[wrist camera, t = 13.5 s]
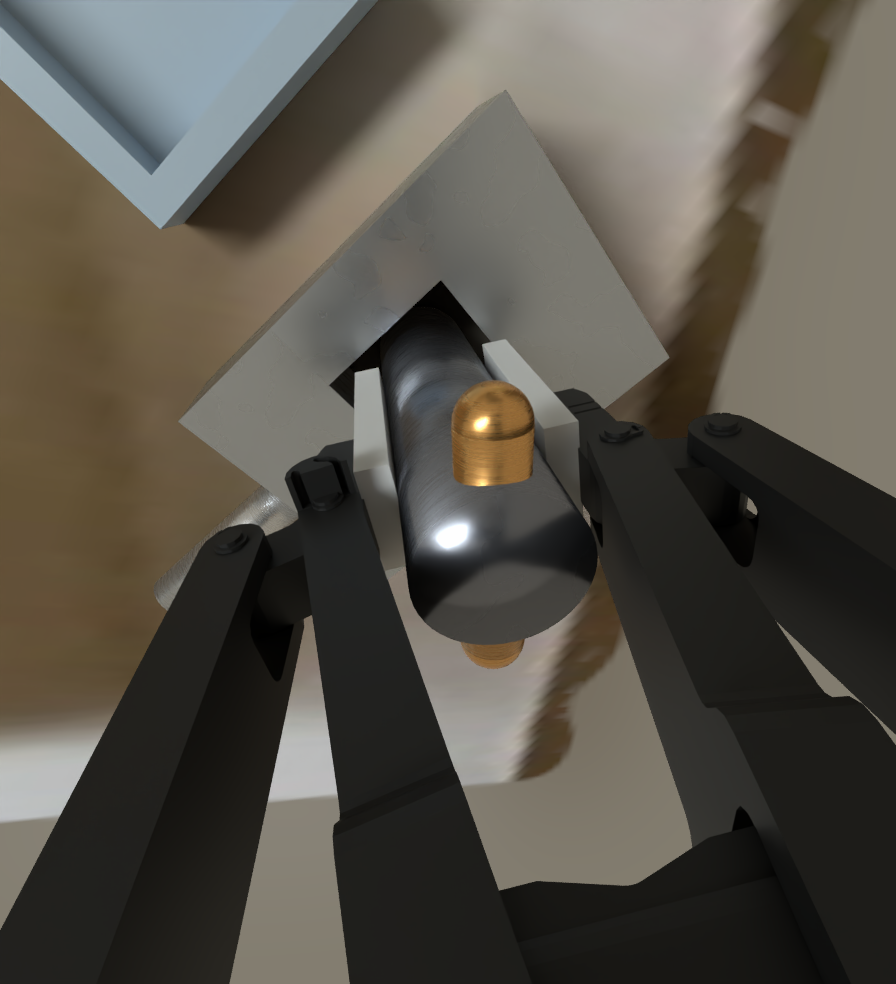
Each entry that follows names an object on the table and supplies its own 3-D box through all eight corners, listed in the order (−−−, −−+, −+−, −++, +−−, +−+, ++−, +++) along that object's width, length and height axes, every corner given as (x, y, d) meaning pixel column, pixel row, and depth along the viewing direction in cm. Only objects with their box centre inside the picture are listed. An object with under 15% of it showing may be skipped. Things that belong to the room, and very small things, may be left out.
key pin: (370, 267, 19) (390, 417, 8) (462, 261, 20) (620, 394, 8) (387, 427, 23) (421, 707, 11) (466, 420, 23) (581, 682, 11)
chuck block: (477, 106, 18) (506, 89, 14) (622, 330, 22) (669, 357, 19) (87, 504, 23) (40, 561, 20) (271, 619, 28) (258, 681, 24)
